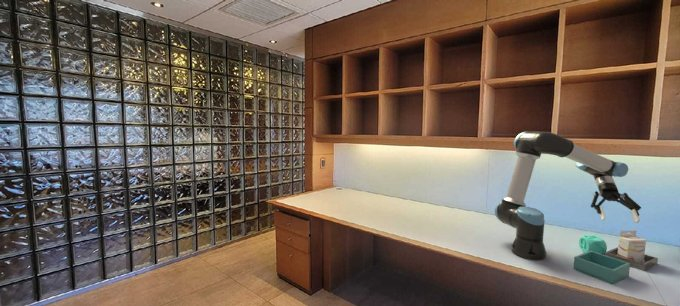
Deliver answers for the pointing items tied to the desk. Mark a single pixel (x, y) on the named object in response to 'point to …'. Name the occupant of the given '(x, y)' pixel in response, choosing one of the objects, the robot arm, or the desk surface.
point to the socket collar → (641, 266)
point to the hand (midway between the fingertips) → (620, 220)
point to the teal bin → (602, 267)
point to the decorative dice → (592, 244)
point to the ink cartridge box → (631, 246)
